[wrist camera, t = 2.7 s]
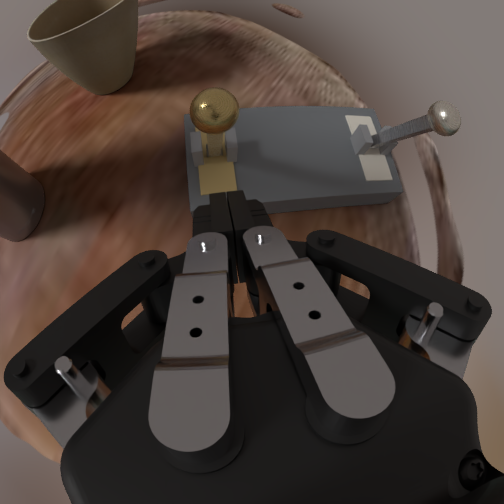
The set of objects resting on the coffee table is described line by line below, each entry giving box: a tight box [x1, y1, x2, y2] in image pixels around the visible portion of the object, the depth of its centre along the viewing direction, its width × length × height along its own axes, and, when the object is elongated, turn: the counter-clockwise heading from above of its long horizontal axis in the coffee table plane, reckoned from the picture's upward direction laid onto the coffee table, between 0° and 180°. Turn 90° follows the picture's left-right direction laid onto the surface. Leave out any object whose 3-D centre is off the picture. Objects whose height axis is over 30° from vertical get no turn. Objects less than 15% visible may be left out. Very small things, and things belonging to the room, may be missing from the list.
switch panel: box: [184, 106, 403, 217], centre depth 31 cm, size 24×12×7 cm, turn 98°
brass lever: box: [190, 88, 239, 157], centre depth 22 cm, size 3×3×15 cm
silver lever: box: [370, 101, 461, 149], centre depth 24 cm, size 3×3×15 cm
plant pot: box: [27, 0, 138, 95], centre depth 28 cm, size 15×15×16 cm
